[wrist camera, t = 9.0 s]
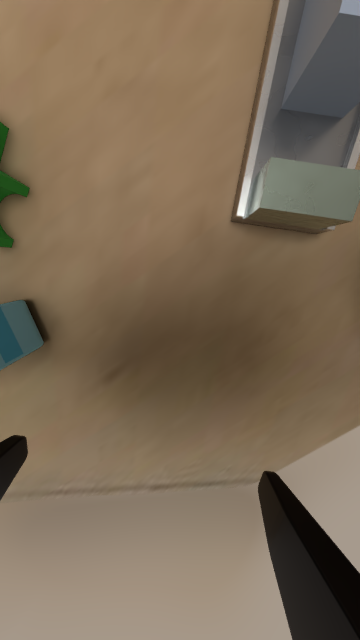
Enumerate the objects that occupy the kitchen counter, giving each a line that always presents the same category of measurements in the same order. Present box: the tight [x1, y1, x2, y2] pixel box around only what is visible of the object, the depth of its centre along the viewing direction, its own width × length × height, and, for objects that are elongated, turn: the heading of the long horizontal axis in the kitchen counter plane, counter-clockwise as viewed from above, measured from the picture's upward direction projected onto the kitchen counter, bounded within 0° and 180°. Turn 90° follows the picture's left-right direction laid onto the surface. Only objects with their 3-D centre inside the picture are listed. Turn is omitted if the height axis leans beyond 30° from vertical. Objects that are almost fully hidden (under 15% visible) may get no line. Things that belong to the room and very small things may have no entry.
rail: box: [231, 0, 360, 234], centre depth 11 cm, size 7×20×4 cm, turn 172°
